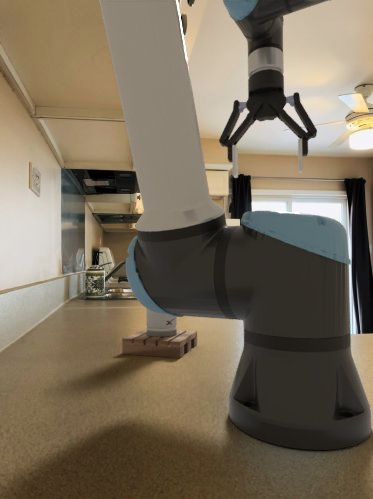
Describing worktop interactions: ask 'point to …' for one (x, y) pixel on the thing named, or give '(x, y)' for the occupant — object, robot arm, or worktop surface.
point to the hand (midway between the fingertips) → (267, 174)
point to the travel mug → (161, 324)
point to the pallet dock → (159, 344)
